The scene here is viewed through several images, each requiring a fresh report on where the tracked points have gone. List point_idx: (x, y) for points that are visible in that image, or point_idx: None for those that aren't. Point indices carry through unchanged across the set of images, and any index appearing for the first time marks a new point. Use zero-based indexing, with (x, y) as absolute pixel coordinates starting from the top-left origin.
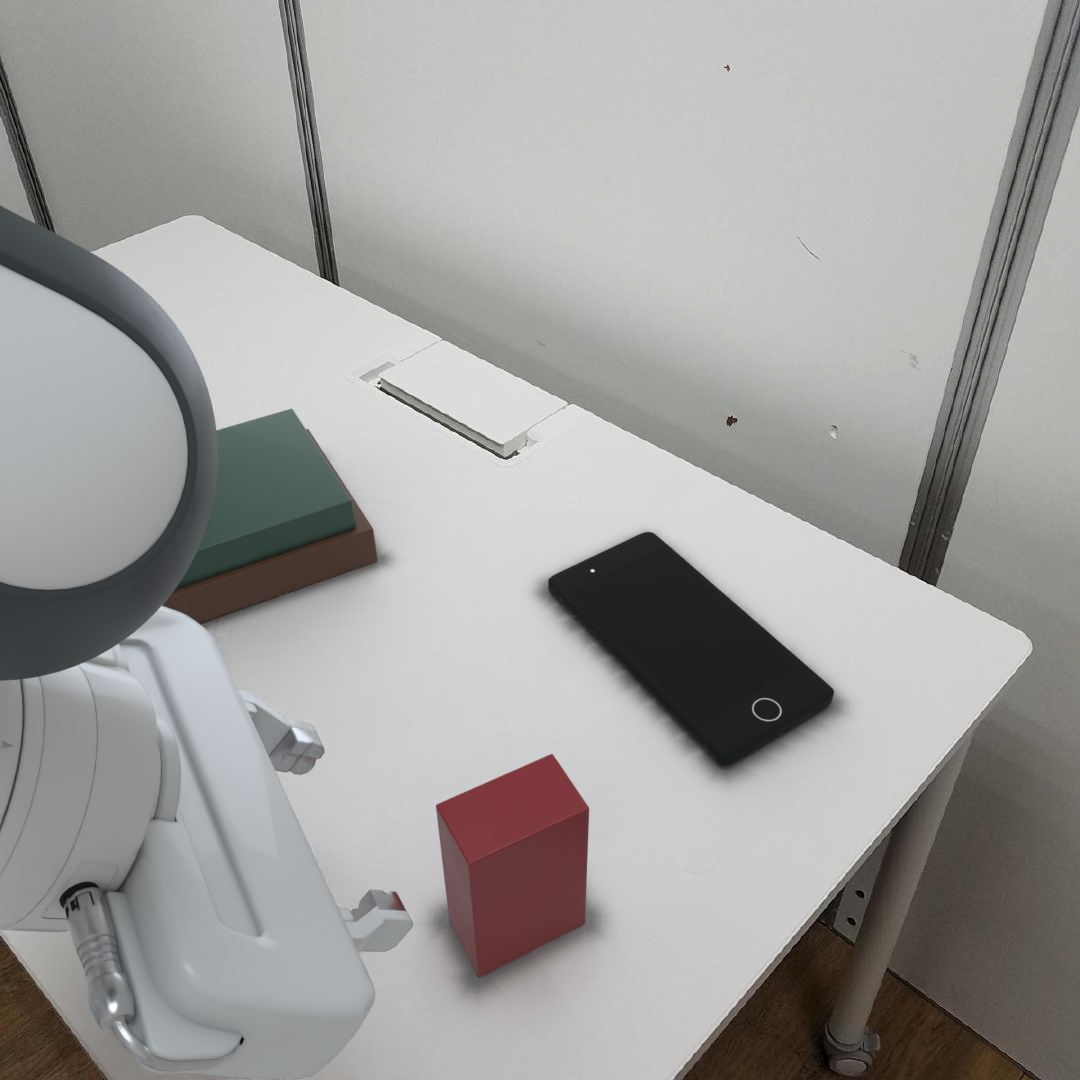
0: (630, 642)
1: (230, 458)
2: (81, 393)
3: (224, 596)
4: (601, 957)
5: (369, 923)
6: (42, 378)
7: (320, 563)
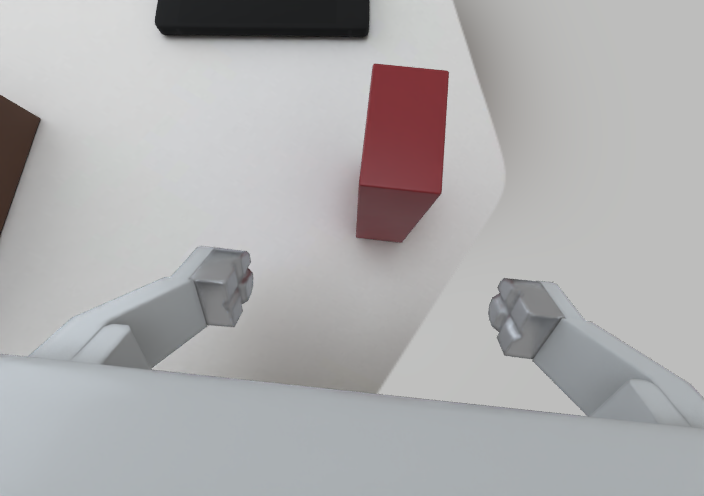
0: (247, 16)
1: None
2: None
3: None
4: None
5: (629, 352)
6: None
7: (2, 153)
